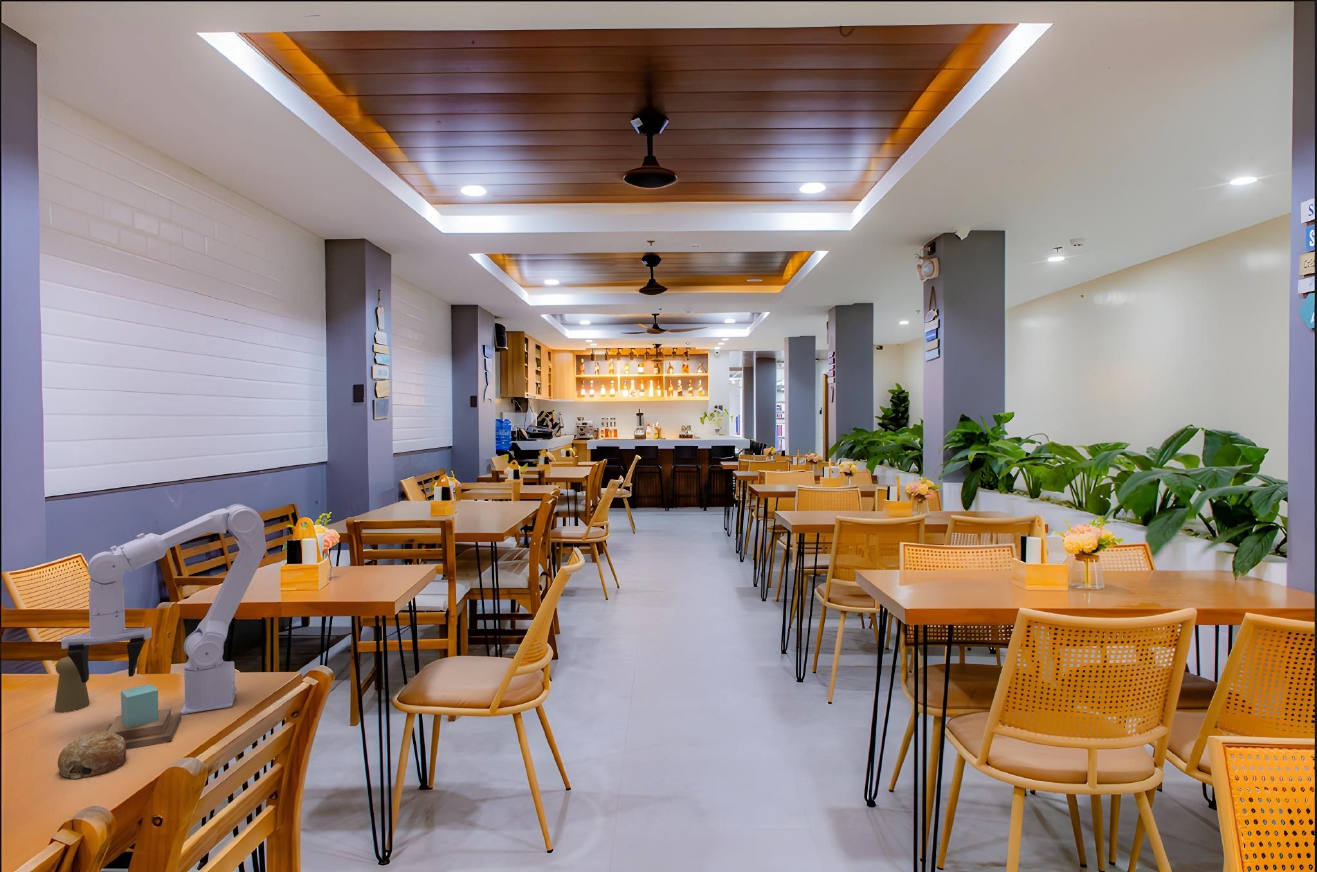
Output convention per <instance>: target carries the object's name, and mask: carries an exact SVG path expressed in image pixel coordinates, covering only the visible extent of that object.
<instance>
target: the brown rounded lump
mask: <svg viewBox="0 0 1317 872" xmlns="http://www.w3.org/2000/svg"><path fill="white" fill-rule="evenodd" d="M126 755H127V749H126V741H125V739H124V738H123V737H121V736H120V735H117V734H116V733H114V732H110V731H106V730H103V729H102V730H100V729H99V730H93V731H91V732H89V733H87V734H85V735H83V736H80V737H79V738H77V739H75V740H73V741H70V742H69V743H68V744H67V745H66V746H65V747H64V748H62V750H61V752H60V753H59V755H58V758H57V768H58V772H59V774H61V776H63V777H64V778H66V779H67V778H68V779H71V780H77V779H81V778H87V777H93V776H96V775H99V774H104V773H108V772H111V771H113V770H116V769H117V768H119V767H120V766H122V765H123V764H124V763H125V761H126V759H127V758H126V757H127V756H126Z"/></svg>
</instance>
